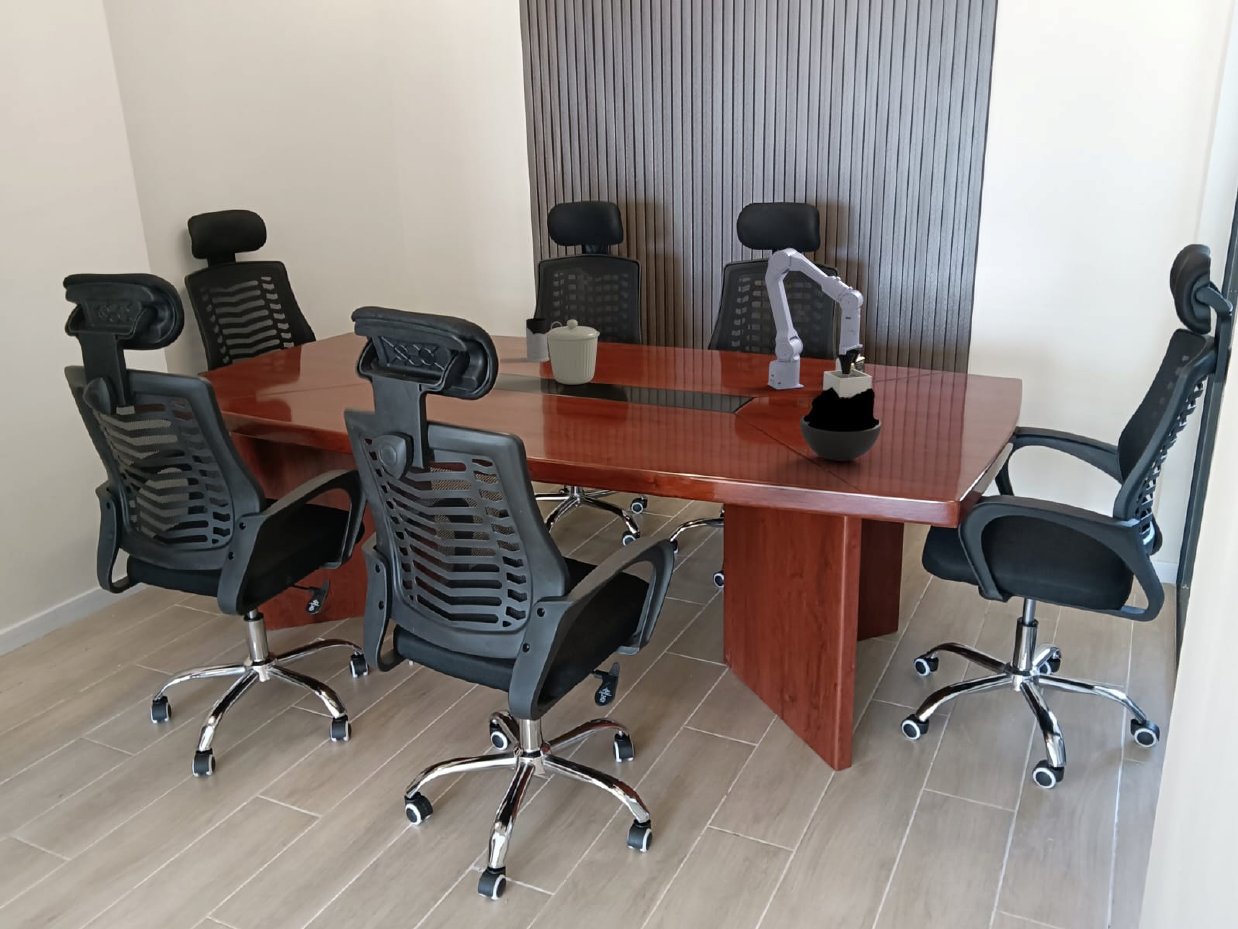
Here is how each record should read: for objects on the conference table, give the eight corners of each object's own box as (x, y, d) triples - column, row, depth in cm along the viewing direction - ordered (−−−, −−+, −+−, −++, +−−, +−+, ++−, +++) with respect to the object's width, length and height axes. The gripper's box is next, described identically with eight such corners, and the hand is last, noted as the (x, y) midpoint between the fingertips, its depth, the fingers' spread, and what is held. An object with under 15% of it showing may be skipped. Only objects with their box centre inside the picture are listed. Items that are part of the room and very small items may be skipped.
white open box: (839, 397, 314) (840, 379, 313) (823, 389, 325) (823, 371, 323) (870, 395, 317) (871, 376, 315) (853, 387, 327) (854, 369, 325)
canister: (608, 384, 336) (607, 321, 330) (556, 389, 330) (554, 326, 324) (589, 373, 352) (588, 313, 346) (540, 378, 346) (538, 317, 340)
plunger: (841, 384, 314) (842, 367, 313) (827, 378, 323) (828, 361, 321) (867, 382, 317) (868, 365, 315) (853, 376, 325) (854, 359, 323)
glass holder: (523, 358, 379) (522, 318, 374) (560, 355, 383) (559, 316, 378) (528, 362, 371) (527, 322, 366) (566, 359, 375) (564, 319, 370)
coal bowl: (785, 463, 253) (788, 390, 247) (817, 443, 268) (820, 374, 263) (861, 476, 242) (866, 400, 236) (890, 455, 258) (895, 383, 252)
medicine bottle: (854, 382, 334) (856, 346, 331) (834, 379, 338) (836, 344, 335) (863, 377, 340) (865, 342, 336) (844, 375, 344) (846, 340, 340)
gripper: (855, 335, 307) (853, 378, 311) (869, 327, 319) (866, 369, 323) (833, 333, 310) (831, 376, 314) (847, 325, 322) (845, 367, 326)
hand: (847, 372), depth 319 cm, fingers closed on plunger, 4 cm apart
